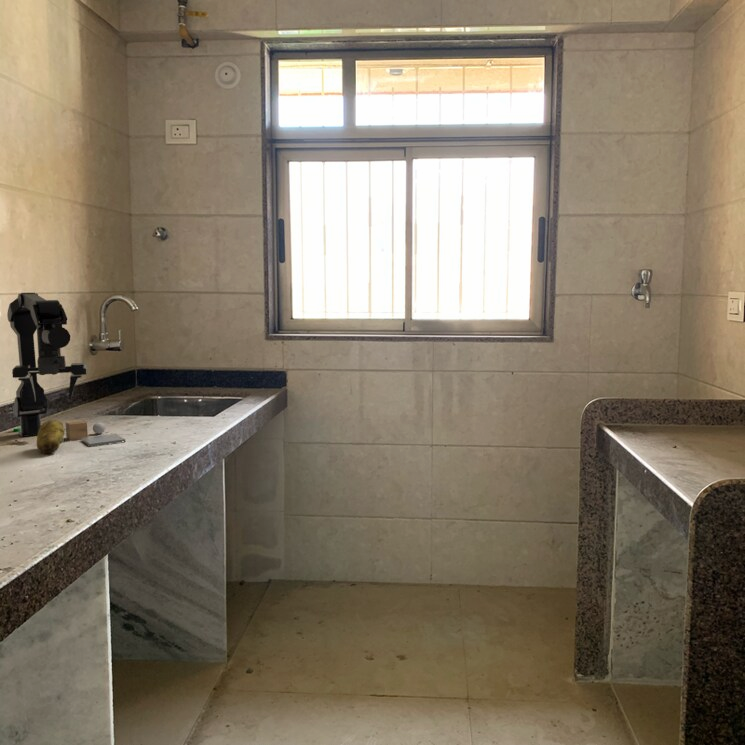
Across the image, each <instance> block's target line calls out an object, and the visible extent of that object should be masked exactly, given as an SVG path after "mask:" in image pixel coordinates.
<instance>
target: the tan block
mask: <svg viewBox="0 0 745 745" xmlns="http://www.w3.org/2000/svg"><path fill="white" fill-rule="evenodd" d="M88 435H89V432H88V422H87V421H85V420H84V419H79V420H70V421H65V436H66V437H65V438H68V439H67V440H69V441H70V440H72V441H77V439H79V440H81V438H86V437H89V436H88Z"/></svg>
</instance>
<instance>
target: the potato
mask: <svg viewBox="0 0 745 745" xmlns="http://www.w3.org/2000/svg"><path fill="white" fill-rule="evenodd" d="M65 434H66V430H65V428H64V424H63V422H61V421H59V420H56V419H49V420H46V421H45V422H43V423H41V427H40V429H39V431H38V435H36V448H37V450H38V452H40V453H42V454H48V455H50V454H53V453H55V452H56V451H58V450H59V448H60V445H61V444H62V443H63V442H62V440H63V438H64V436H65ZM61 442H62V443H61Z"/></svg>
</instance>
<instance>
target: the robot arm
mask: <svg viewBox="0 0 745 745" xmlns="http://www.w3.org/2000/svg"><path fill="white" fill-rule="evenodd" d="M6 313H7V314H6V315H7V316H6V317H7V320H8V322H9V324H10V328H11V330H12V331H13V332H14V333H15V334H16V337H17V338H16V339H17V348H18V360H19V364H18V365H15V366H14V367H13V368H12V372H11V373H12V379H13V378H15V379H16V378H17V379H18V381H20V384H19V386H18V387H17V390H16V391H15V397H14V402H13V405H12V413H13V416H14V417H16V418H19V420H20V421H19V422H20V431H19V432H18V435H19V436H21V437H30V436H37V435H38V431H39V429H40V427H41V425H42V422H41V415H47V412H48V401H49V400H48V397H47V395H46V394H45V390H44V387H42V386H41V385H40V384H39V382H38V375H40V376H45V375H53V376H54V375H57V374H65V373H66V374H67V373H70V376H69V389H68V390H69V391H68V399H69V401H71V400H72V396H73V394H74V389H75V385H76V383H77V381H78V379H79V378H80V379H81V378H83V376H84V375H87V374H88V368H87V367H88V366H87V364H86V363H85V362H72V363H71V364H70V365H66V357H65V355H62V354H61V349H62V348H65V347H67V346H68V344H70V340H71V333H70V332H69V331H68V330H67V329H66V328H65V327H63V325H68V317H67V314H66V312H65V309H64V307H63V305H62V304H61V303H60V301H59V300H58V299H49V300H48V299H47V300H46V299H45V298H43V297H42V296H40V295H39V294H38V293H36V292H21V293H18V295H17V298H16V299H14V300H13V301H11V302H10V303H9V305H8V308H7V312H6ZM35 333H36V339H37V354H38V355H37V356H38V357H37V363H36V350H35V348H36V347H35V339H34V338H35V337H34V335H35Z"/></svg>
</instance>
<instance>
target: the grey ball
mask: <svg viewBox="0 0 745 745" xmlns="http://www.w3.org/2000/svg"><path fill="white" fill-rule="evenodd" d="M105 426H106V425H105V424H104V423H103V422H96V423H94V424H93V426H92V431H93V432H94V433H95V434H97V435H101V434H103V433H104V432H105V430H106V427H105Z"/></svg>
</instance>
